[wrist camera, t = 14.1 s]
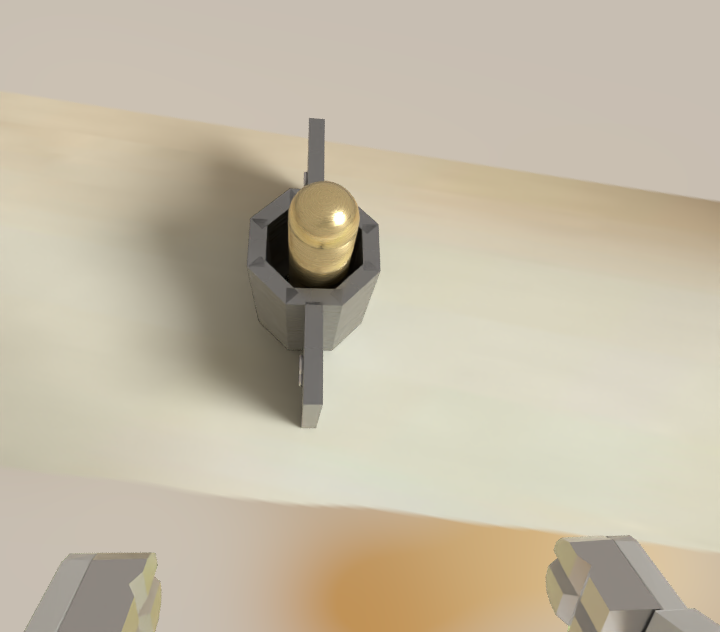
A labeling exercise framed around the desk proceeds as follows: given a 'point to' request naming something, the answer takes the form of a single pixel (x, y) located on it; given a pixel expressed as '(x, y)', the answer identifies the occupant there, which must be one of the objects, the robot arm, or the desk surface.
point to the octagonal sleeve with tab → (308, 305)
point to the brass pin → (321, 235)
